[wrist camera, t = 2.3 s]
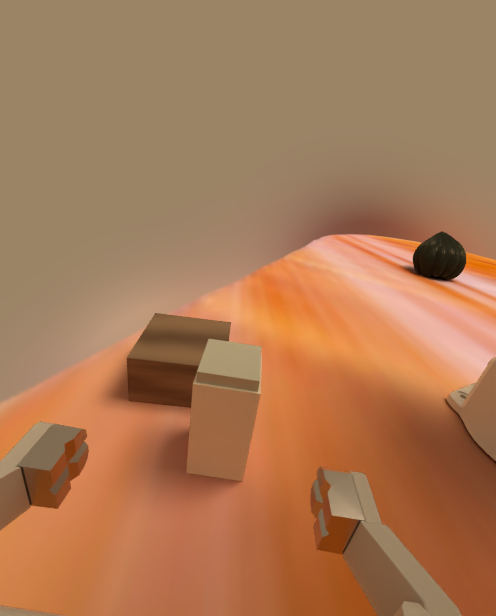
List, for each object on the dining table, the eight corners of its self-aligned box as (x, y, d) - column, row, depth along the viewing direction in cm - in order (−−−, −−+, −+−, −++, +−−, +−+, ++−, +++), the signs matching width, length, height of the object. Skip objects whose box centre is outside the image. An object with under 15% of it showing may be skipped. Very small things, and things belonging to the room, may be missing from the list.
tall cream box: (198, 427, 30) (206, 336, 26) (246, 435, 30) (263, 345, 26) (186, 472, 26) (193, 372, 21) (242, 481, 26) (262, 383, 21)
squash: (470, 272, 88) (477, 230, 92) (415, 262, 92) (424, 222, 96) (451, 291, 101) (457, 253, 105) (403, 281, 105) (411, 245, 109)
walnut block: (155, 351, 41) (155, 313, 39) (226, 359, 42) (230, 322, 39) (129, 402, 32) (126, 357, 30) (219, 412, 33) (225, 369, 30)
